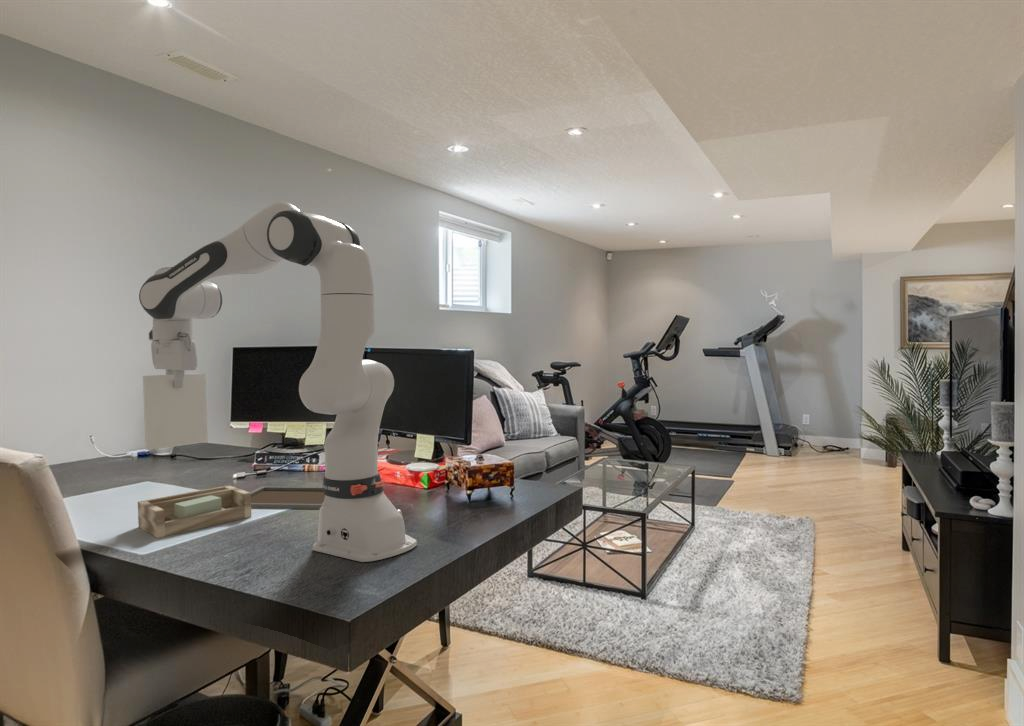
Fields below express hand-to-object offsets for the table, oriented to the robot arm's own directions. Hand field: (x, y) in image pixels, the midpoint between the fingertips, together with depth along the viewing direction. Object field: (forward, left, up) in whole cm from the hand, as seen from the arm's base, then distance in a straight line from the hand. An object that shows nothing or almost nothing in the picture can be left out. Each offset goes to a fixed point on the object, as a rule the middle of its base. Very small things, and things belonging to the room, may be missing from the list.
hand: (175, 387), depth 154 cm
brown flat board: (-7, -25, -33) cm, 42 cm away
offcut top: (-13, 0, -30) cm, 32 cm away
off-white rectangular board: (0, 0, -15) cm, 15 cm away
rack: (-11, 0, -32) cm, 34 cm away
